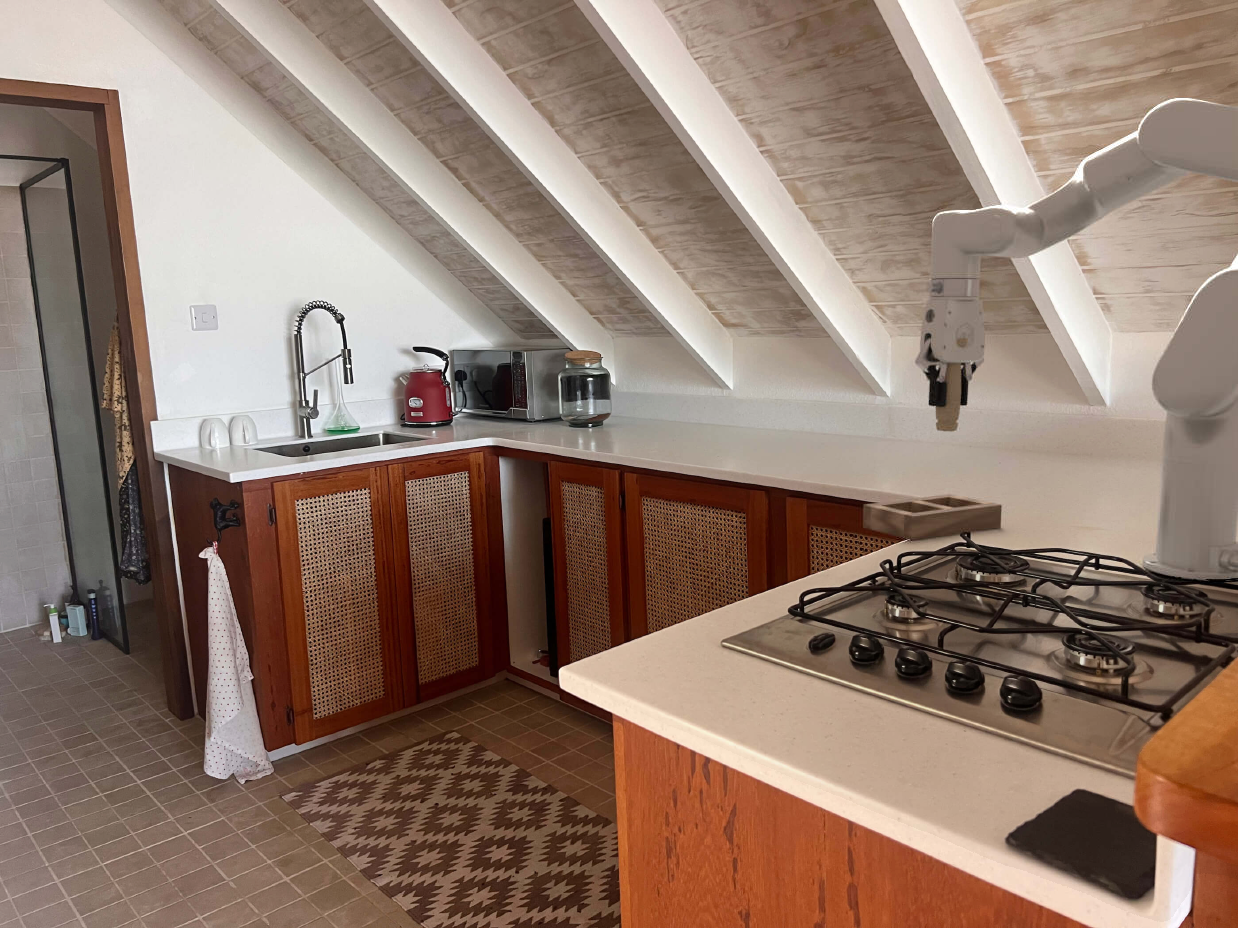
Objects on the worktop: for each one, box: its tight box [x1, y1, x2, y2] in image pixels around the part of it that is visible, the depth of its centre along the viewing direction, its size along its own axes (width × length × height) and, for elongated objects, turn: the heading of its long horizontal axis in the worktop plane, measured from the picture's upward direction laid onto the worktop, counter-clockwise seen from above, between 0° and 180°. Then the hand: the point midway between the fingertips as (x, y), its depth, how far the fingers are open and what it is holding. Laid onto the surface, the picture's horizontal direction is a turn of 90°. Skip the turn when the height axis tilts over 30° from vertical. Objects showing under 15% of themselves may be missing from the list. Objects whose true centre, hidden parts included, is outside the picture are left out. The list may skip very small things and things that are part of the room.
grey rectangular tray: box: [862, 493, 1002, 541], centre depth 166 cm, size 12×20×4 cm, turn 116°
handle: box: [935, 338, 967, 432], centre depth 155 cm, size 5×6×15 cm
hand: (947, 404), depth 155 cm, fingers closed on handle, 4 cm apart
